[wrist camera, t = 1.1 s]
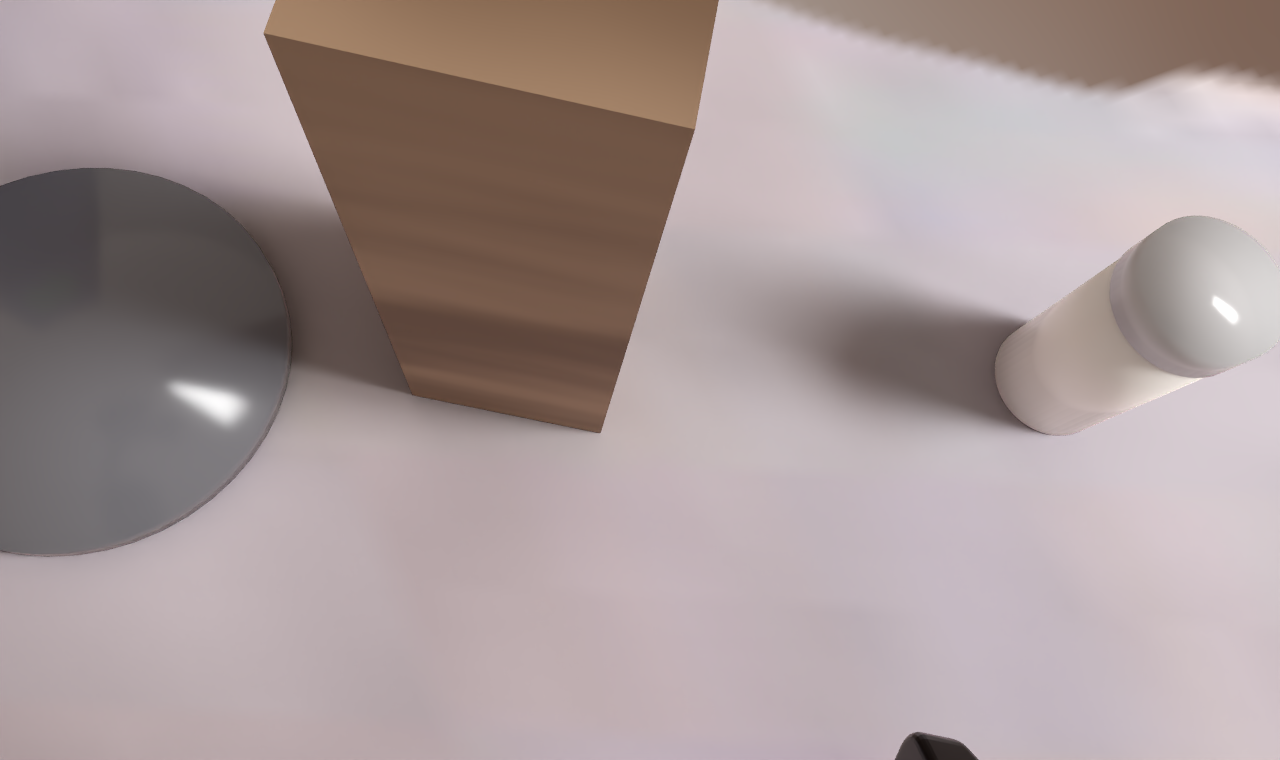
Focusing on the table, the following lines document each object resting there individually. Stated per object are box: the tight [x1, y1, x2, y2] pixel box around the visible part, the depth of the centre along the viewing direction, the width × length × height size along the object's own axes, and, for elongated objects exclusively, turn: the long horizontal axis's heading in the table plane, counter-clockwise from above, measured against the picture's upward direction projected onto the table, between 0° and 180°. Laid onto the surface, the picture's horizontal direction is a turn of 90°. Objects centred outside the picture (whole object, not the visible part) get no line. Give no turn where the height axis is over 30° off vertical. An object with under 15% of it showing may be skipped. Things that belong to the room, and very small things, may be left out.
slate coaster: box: [0, 168, 292, 557], centre depth 21 cm, size 9×9×1 cm
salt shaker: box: [995, 216, 1280, 436], centre depth 21 cm, size 3×3×6 cm
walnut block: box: [264, 0, 719, 433], centre depth 16 cm, size 4×4×13 cm
